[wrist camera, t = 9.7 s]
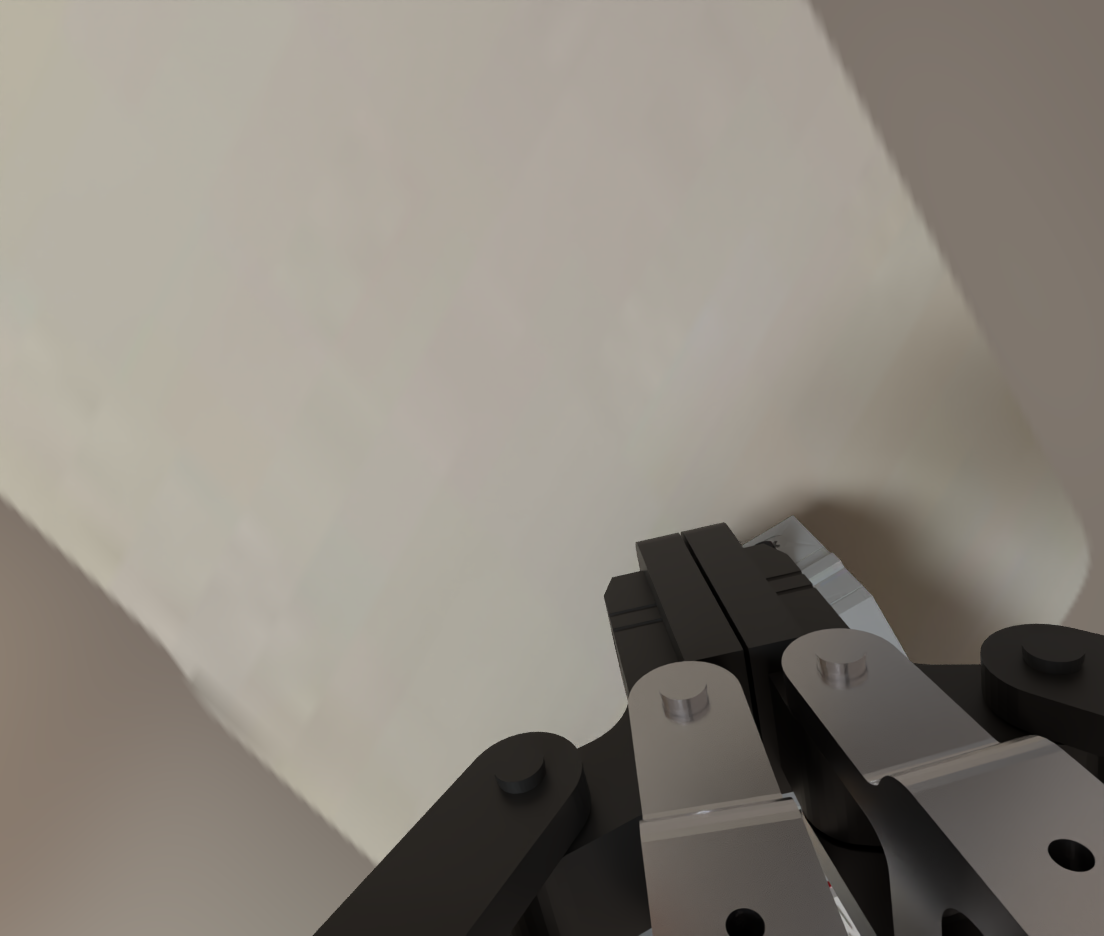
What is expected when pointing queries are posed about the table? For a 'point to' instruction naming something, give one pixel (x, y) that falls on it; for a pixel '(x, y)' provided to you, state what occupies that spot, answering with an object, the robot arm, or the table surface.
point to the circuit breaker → (839, 593)
